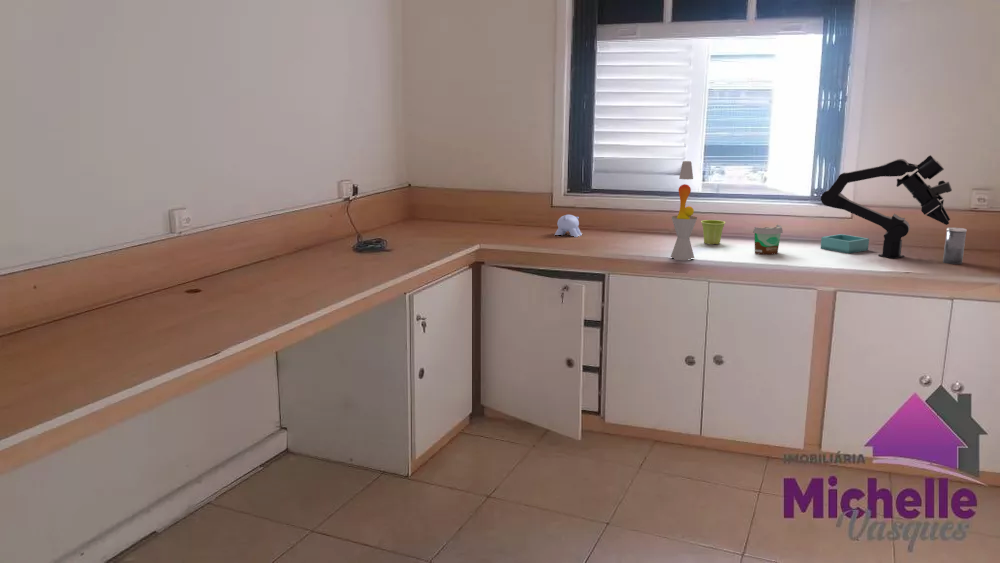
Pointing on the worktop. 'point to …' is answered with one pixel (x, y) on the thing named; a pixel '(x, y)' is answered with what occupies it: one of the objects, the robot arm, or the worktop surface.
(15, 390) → the worktop surface
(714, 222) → the plant pot
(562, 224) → the hippopotamus toy
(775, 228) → the food container
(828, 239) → the teal bin
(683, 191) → the lava lamp
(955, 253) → the grey can
